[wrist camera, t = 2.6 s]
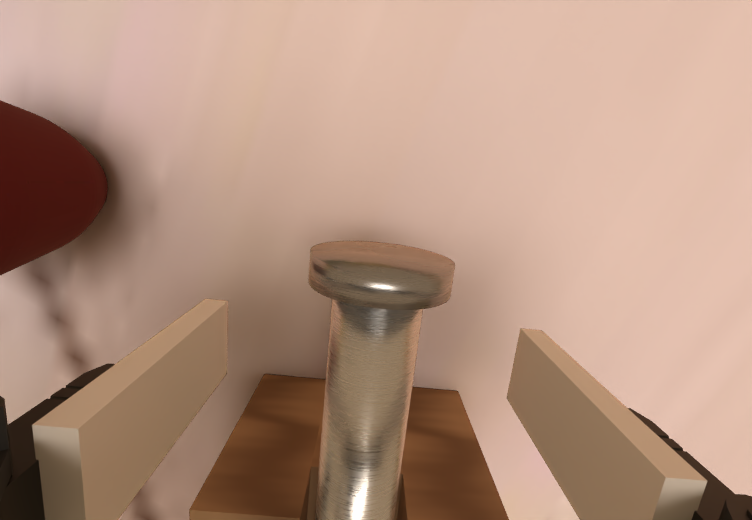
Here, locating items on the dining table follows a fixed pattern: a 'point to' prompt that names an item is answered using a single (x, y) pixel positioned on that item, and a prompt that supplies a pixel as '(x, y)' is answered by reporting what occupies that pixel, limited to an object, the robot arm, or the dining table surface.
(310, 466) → the cradle block
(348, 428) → the shaft
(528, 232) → the dining table surface
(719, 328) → the dining table surface
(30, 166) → the mug
